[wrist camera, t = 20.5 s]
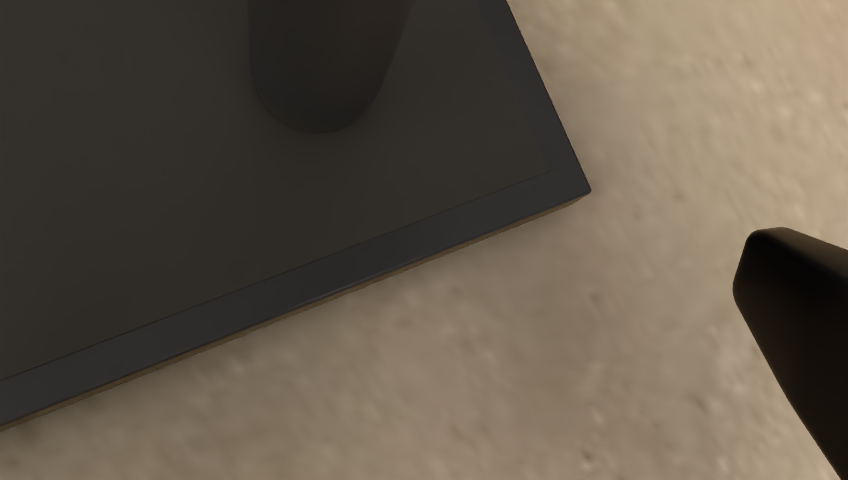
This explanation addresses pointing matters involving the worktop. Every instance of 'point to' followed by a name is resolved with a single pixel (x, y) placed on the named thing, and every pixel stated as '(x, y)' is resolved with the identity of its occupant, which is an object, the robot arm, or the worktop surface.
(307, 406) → the worktop surface
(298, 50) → the black and orange cylinder
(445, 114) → the tablet
